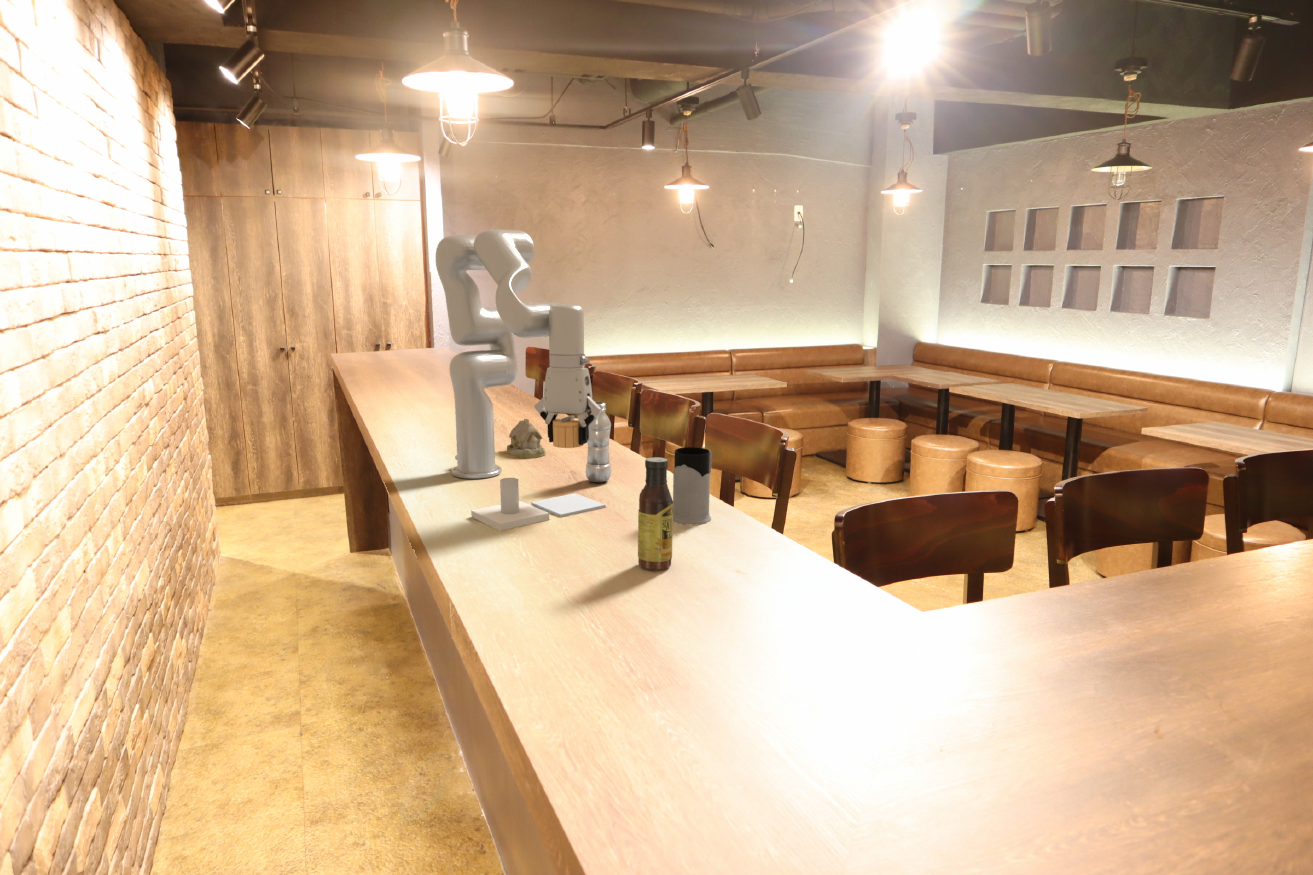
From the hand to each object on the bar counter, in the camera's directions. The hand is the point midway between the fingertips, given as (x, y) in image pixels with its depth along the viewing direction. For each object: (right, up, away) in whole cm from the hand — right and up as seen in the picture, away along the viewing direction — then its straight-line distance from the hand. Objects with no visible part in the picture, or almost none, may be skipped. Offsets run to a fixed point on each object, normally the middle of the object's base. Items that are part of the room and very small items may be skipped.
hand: (568, 441), depth 184 cm
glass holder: (+28, -16, -2) cm, 33 cm away
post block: (-12, -16, -6) cm, 21 cm away
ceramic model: (-18, -4, +55) cm, 58 cm away
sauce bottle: (+19, -23, -33) cm, 44 cm away
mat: (0, -15, +3) cm, 15 cm away
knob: (0, -1, 0) cm, 1 cm away
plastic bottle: (+5, -10, +24) cm, 27 cm away
